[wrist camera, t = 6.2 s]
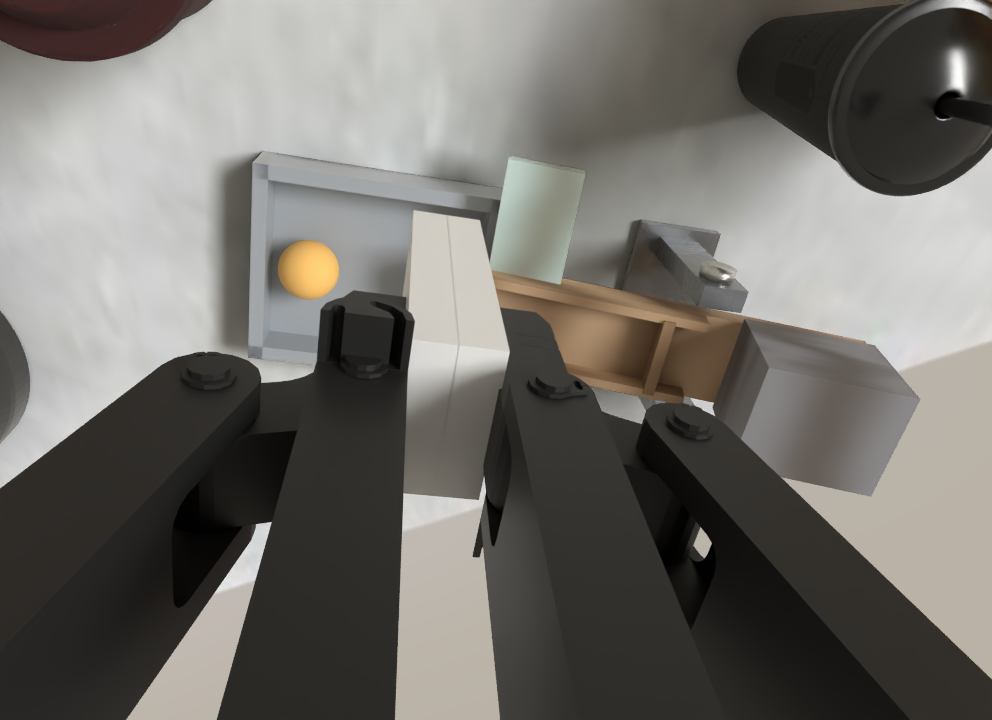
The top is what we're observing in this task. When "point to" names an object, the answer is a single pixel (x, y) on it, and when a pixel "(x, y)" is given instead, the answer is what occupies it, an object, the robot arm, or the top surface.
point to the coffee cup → (90, 25)
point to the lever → (701, 349)
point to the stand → (681, 271)
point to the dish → (339, 237)
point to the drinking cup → (881, 88)
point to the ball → (308, 269)
